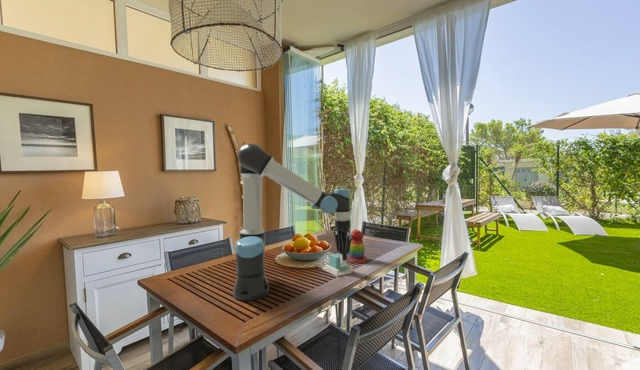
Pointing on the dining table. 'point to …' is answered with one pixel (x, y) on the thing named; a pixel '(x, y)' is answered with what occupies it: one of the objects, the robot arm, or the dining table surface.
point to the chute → (335, 271)
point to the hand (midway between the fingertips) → (343, 266)
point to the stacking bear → (357, 248)
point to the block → (335, 262)
